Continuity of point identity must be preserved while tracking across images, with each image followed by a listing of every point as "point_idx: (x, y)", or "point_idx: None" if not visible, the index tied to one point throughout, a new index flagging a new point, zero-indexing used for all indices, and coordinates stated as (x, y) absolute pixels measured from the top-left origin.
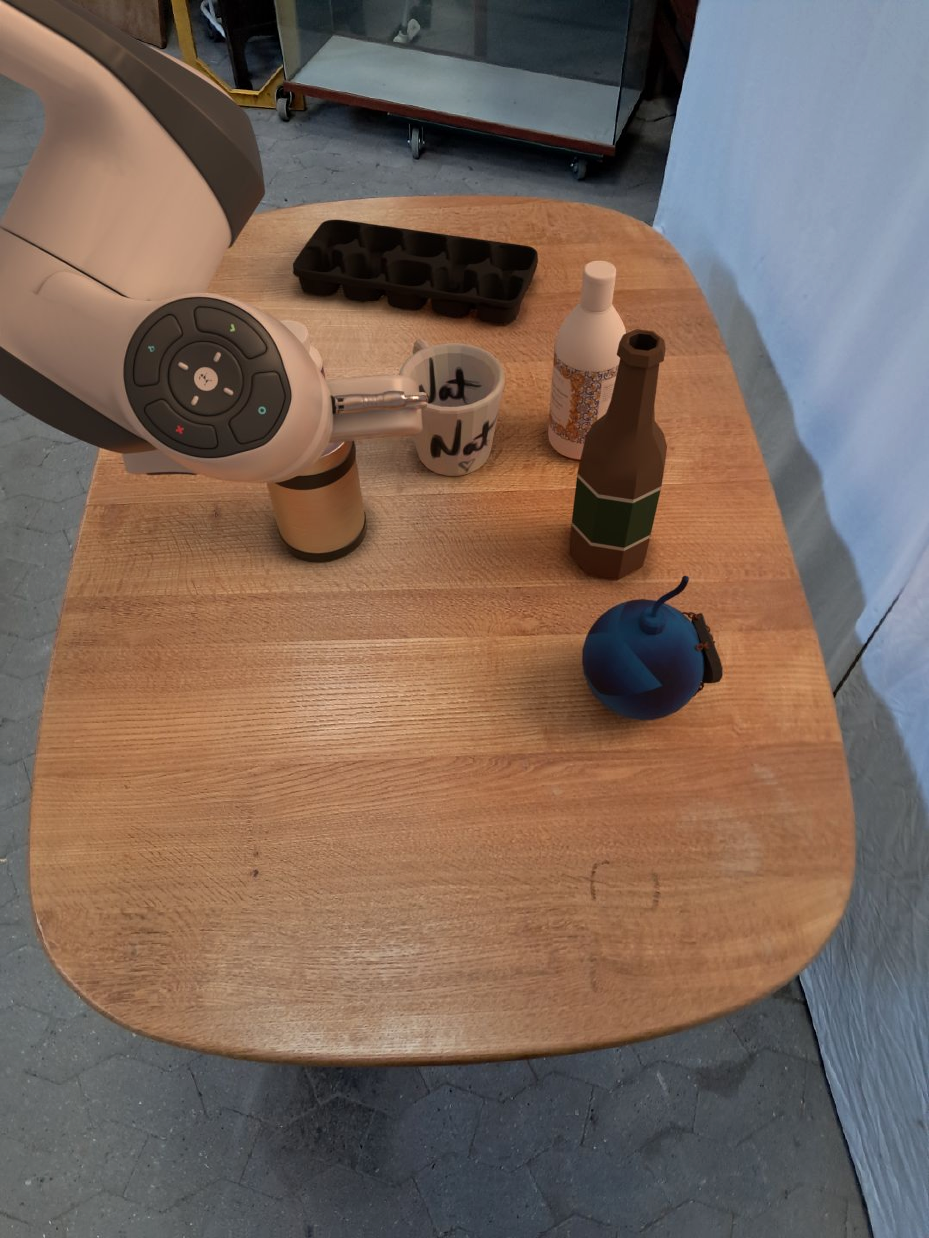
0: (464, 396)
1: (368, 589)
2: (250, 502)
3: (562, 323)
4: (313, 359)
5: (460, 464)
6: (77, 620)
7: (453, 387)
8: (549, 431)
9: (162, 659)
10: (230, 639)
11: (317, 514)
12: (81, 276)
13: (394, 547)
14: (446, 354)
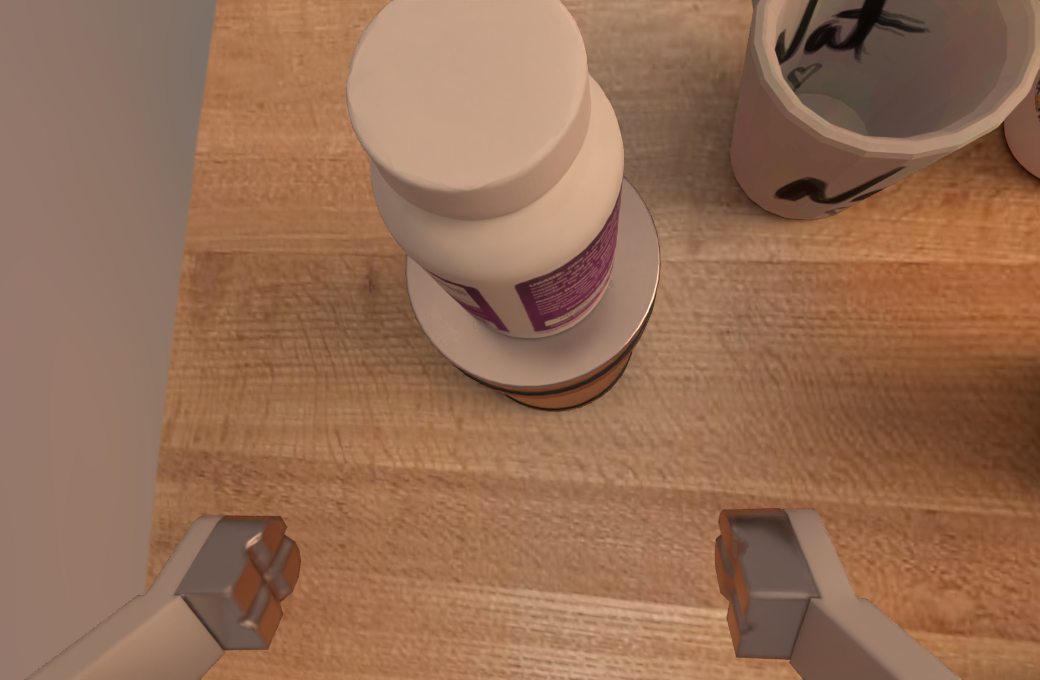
0: (862, 45)
1: (637, 483)
2: None
3: None
4: (596, 163)
5: (829, 210)
6: (164, 496)
7: (845, 26)
8: (1023, 123)
9: (294, 597)
10: (401, 568)
11: (554, 401)
12: None
13: (685, 387)
14: None
